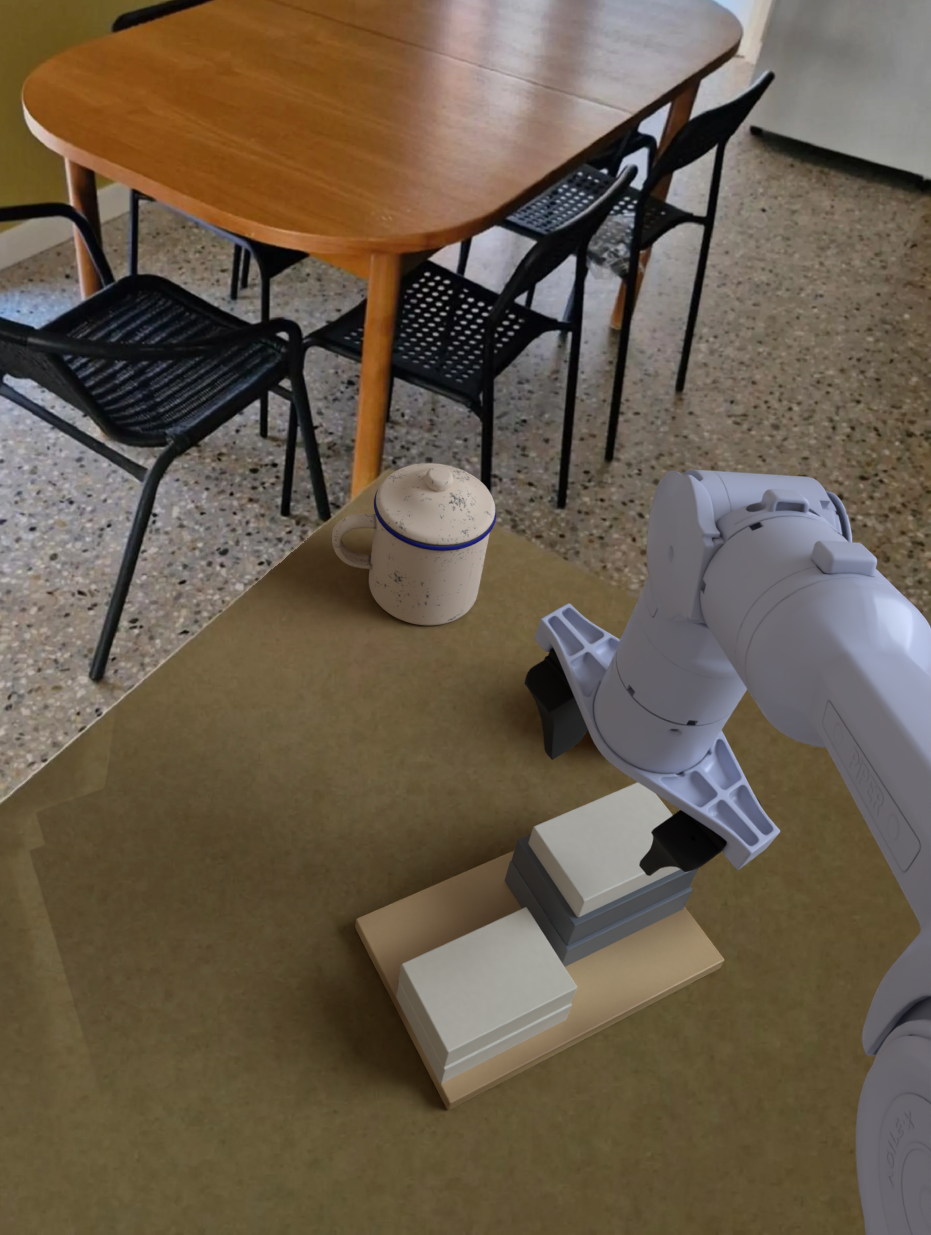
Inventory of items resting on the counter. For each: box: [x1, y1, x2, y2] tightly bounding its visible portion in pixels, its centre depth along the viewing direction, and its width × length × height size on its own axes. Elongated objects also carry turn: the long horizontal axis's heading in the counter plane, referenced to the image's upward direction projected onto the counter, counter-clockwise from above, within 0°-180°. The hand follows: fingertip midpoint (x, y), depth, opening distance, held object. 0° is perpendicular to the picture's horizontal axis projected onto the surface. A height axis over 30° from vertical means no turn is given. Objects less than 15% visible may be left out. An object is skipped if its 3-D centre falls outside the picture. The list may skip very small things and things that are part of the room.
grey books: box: [505, 833, 699, 967], centre depth 66 cm, size 6×9×4 cm, turn 116°
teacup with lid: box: [331, 462, 497, 626], centre depth 84 cm, size 12×9×12 cm
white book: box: [529, 781, 680, 917], centre depth 64 cm, size 5×8×2 cm, turn 116°
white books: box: [396, 907, 577, 1084], centre depth 60 cm, size 5×8×4 cm, turn 116°
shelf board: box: [354, 850, 725, 1111], centre depth 65 cm, size 11×18×1 cm, turn 116°
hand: (607, 802), depth 60 cm, fingers open, 7 cm apart
